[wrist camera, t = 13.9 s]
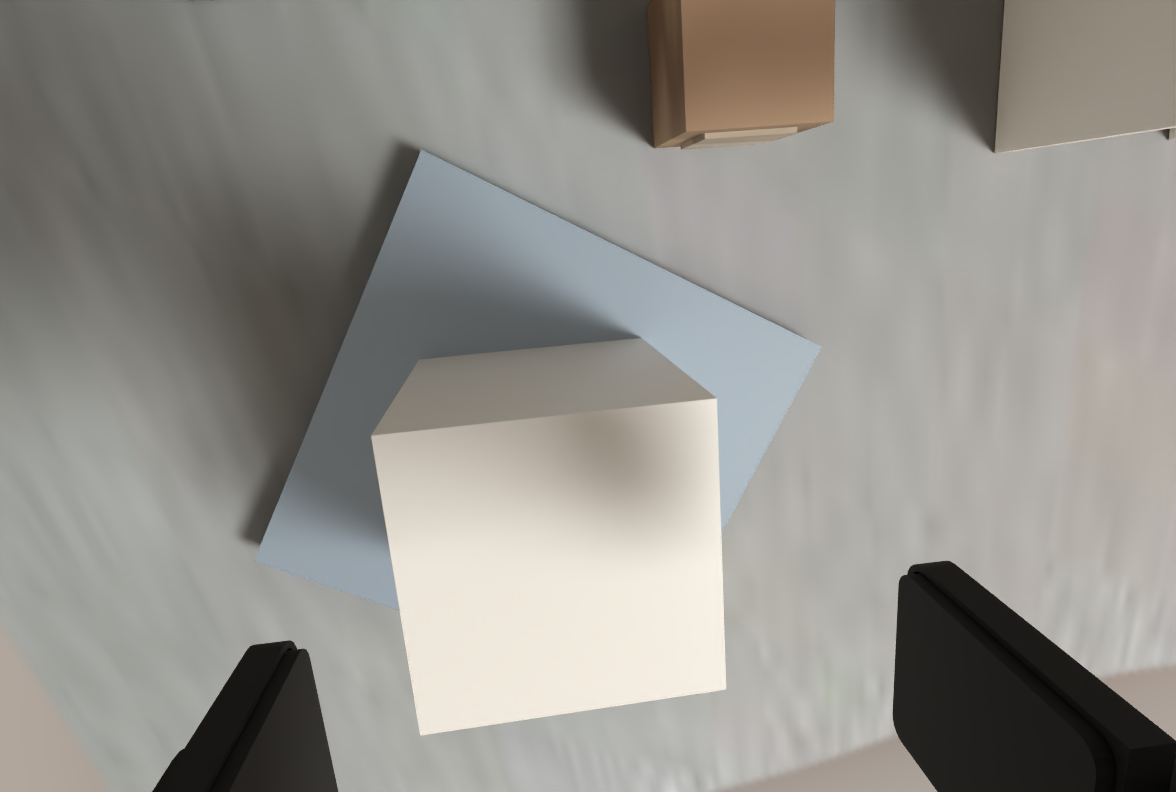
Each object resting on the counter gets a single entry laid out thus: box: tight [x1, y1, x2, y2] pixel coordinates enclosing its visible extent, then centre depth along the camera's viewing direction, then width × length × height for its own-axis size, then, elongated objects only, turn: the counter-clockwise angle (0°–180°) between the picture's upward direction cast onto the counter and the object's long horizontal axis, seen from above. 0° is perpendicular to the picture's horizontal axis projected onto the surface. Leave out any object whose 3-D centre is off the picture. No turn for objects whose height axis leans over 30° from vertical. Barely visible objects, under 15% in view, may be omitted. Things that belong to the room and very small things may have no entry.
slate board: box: [254, 150, 821, 611], centre depth 23 cm, size 14×14×1 cm
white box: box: [371, 338, 726, 735], centre depth 18 cm, size 7×7×8 cm
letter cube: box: [647, 0, 835, 150], centre depth 19 cm, size 4×4×4 cm
